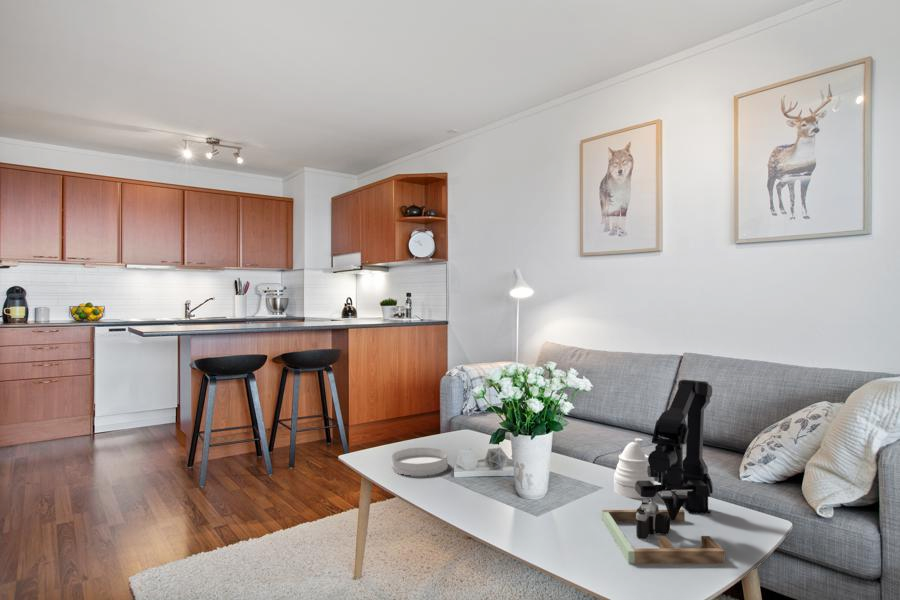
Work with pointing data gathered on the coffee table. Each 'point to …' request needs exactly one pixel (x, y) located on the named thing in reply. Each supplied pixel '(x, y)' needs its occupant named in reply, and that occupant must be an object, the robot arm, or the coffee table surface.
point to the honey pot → (631, 470)
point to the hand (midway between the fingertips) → (672, 519)
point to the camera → (650, 520)
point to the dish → (419, 461)
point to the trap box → (666, 550)
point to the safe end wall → (618, 537)
